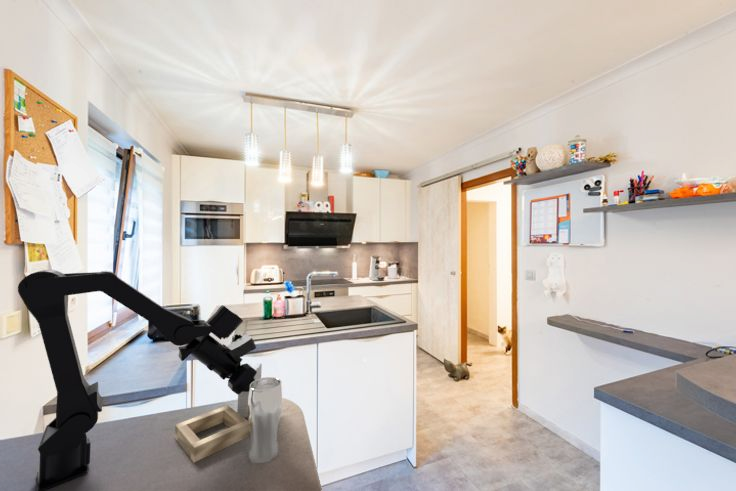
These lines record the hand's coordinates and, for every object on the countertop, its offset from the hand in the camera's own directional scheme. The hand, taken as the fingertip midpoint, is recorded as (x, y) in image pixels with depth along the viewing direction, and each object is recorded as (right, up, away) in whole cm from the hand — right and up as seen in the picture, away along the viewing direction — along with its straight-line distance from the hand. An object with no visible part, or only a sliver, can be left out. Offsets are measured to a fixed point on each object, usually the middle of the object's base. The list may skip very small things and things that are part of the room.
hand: (255, 385), depth 81 cm
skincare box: (-1, -7, -1) cm, 7 cm away
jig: (-5, -6, -12) cm, 15 cm away
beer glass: (+8, -7, -17) cm, 20 cm away
